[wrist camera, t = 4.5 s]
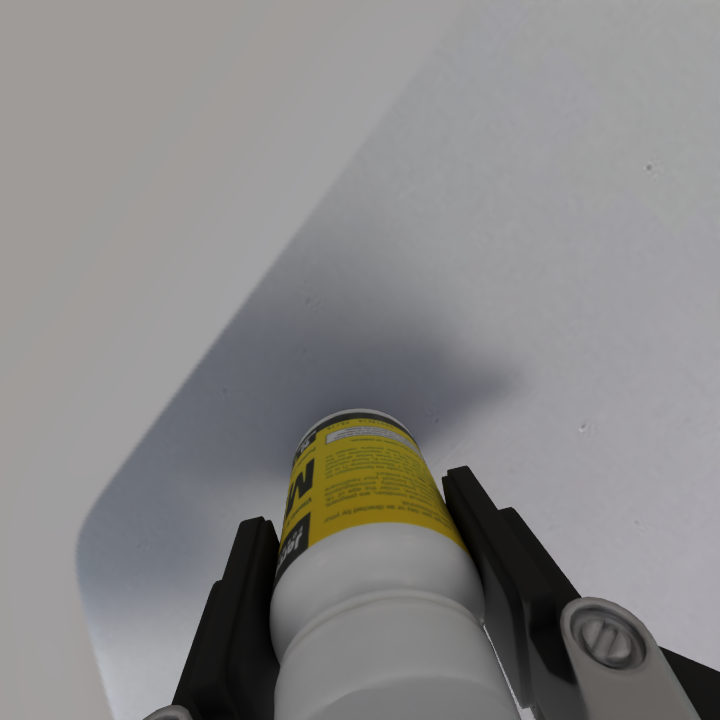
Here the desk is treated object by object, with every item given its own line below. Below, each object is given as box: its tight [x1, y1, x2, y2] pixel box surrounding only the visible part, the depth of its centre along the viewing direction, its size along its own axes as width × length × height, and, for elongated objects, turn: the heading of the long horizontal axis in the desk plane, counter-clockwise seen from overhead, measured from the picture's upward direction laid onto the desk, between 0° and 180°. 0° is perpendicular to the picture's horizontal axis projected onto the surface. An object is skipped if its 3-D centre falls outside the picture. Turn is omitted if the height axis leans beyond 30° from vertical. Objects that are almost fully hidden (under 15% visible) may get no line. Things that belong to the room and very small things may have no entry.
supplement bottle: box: [269, 409, 521, 720], centre depth 9 cm, size 5×5×8 cm
